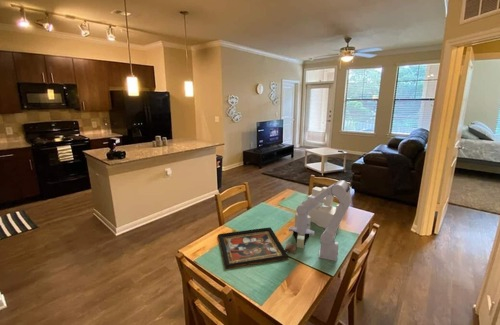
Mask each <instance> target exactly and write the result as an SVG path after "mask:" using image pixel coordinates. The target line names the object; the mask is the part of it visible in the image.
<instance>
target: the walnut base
mask: <svg viewBox="0 0 500 325" xmlns="http://www.w3.org/2000/svg"><path fill="white" fill-rule="evenodd" d="M284 250H285V251H286V253H289V254H296V250H297V244H295V243H294V244H293V243H289V242H287V243H286V244H285V247H284Z"/></svg>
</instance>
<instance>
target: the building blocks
mask: <svg viewBox="0 0 500 325" xmlns="http://www.w3.org/2000/svg"><path fill="white" fill-rule="evenodd" d="M326 188H328V187H327V186H323V187H319V186H314V187H313V188H311V194H310V195H308V196H307V198H308V197H309V196H310V197H311V196H317V195H318V194H320V193H321V192H322V191H324V190H325V189H326ZM334 197H335V196H330V195H328V196H327V197H325V198H324V199H322V200H320V201H319V204H318V205H317V206H316V207H314V208H313V209H311V210H310V211H308V215H309V216H310V217H311V223H314V224H315V225H316V226H317V227H320V228H324V229H326V228H327V227H328V226H329V224H330V222H331V220H332V218H333V216H334V214H335V212H336V210H337V208H338V206H339V204H340V203H339V204H336V205H335V206H334V205H333V204H334Z"/></svg>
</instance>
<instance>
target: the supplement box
mask: <svg viewBox="0 0 500 325" xmlns="http://www.w3.org/2000/svg"><path fill="white" fill-rule="evenodd" d="M297 216H298V213H296V214H295V216H294V227H297ZM311 223H312V222H311V217H310V216H309V215H308V219H307V229H309V230H311ZM298 235H300V236H305V234H300V233H298ZM309 236H310V234H309Z"/></svg>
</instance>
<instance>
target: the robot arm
mask: <svg viewBox="0 0 500 325" xmlns="http://www.w3.org/2000/svg"><path fill="white" fill-rule="evenodd" d="M328 195H330V196H334V197H335V199H337V200H338V201H339V206H338V208H337V210H336V212H335V214H334V216H333V218H332V220H331V222H330V224H329V226H328V227H327V228H324V229H325V230H324V231H323V233H321V235H320V247H319V252H318V258H319V259H323V260H324V259H325V260H329V261H334V262H337V261H338V256H339V241H336V240H335V238H336V235H337V232H338V231H337V230H338V227H339V226H340V224H341V222H342V220H343V218H344V216H346V213H347V211H348V210H349V207H350V205H351V204H352V194H351V186H350V184H349V183H348V181H346V180H343V179H342V180H338V181H337V182H334V183H333V184H331V185H329V186H328V187H327V188H326V189H325V190H324V191H322V192H321V193H320V194H318V195H317V196H311V197H310V195H308V196H309V197H308V196H307V199H306V200H303V201H301V203H300V204H299V205H297V207H296V210H295V211H296V214H298V216H297V227H295V226H289V227H288V232H292V235H293V237H294V239H295V240H294V241H295V245H297V237H298V233H300V234H305V238H304V246H306V242H307V241H308V239H309V237H310V235H311V236H313V237H314V236H315V230H312V229H310V230H309V229H307V219H308V211H310V210H311V209H313V208H314V207H316V206H317V205H318V204H319V201H320V200H322V199H324V198H325V197H327V196H328ZM309 234H310V235H309Z"/></svg>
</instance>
